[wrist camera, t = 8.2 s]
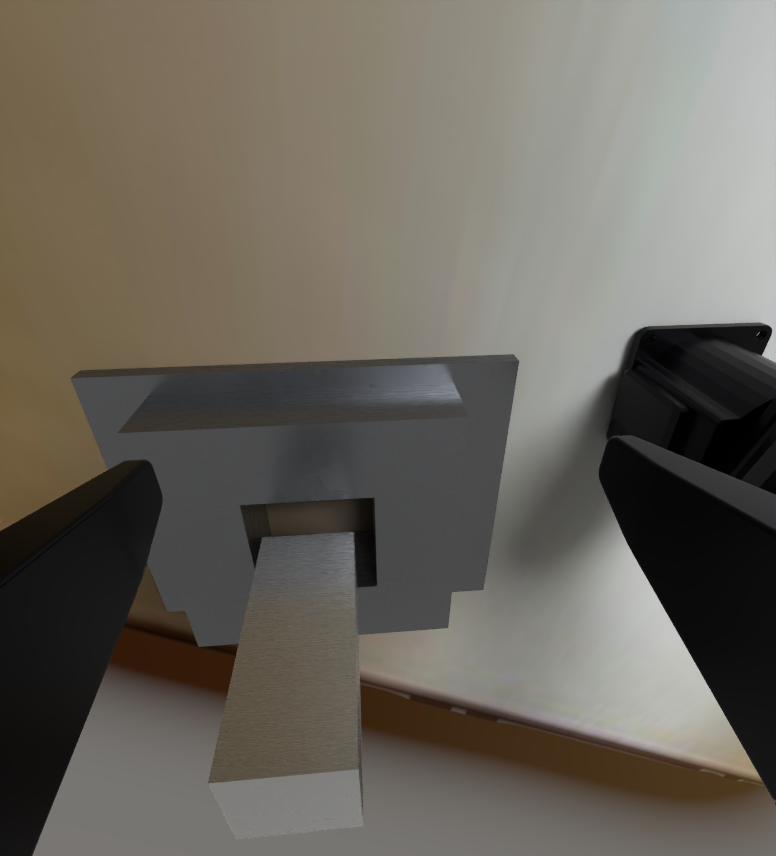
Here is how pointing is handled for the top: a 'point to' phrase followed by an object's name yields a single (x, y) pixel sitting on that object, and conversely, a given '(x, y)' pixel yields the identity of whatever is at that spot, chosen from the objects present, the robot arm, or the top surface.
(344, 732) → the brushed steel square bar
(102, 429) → the stand base
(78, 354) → the top surface
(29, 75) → the top surface
